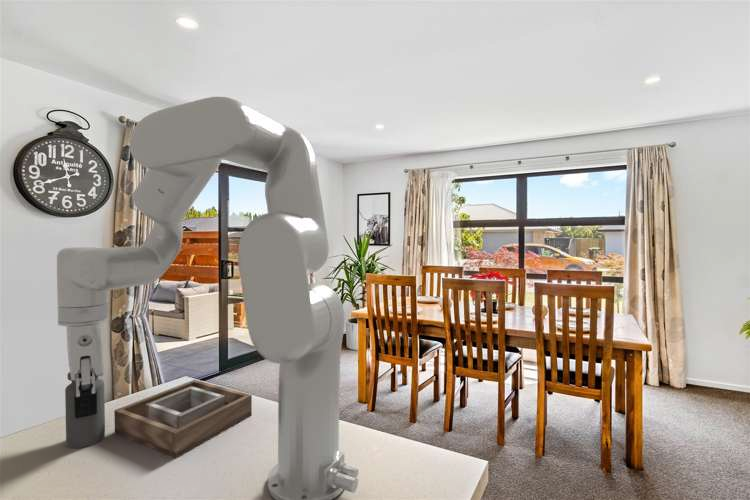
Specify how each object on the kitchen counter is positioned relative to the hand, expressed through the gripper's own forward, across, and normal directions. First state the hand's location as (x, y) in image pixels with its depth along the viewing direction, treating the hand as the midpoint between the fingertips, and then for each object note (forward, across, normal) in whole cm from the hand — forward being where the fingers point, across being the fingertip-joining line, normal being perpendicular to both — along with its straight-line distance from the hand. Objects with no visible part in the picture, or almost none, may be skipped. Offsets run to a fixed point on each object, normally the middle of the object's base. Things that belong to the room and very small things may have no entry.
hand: (85, 408), depth 72 cm
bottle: (+6, 0, 0) cm, 6 cm away
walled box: (+6, -4, -16) cm, 18 cm away
